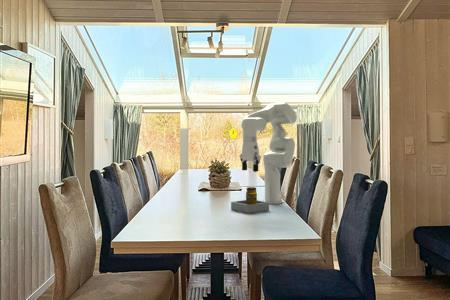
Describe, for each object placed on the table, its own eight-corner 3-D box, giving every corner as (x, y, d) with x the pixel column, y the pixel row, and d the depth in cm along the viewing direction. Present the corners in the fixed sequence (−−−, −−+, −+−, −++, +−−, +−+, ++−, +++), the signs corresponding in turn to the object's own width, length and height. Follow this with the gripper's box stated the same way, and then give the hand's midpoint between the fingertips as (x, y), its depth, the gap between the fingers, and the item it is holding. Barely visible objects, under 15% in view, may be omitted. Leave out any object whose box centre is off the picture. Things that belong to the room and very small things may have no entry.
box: (251, 206, 237) (251, 199, 236) (269, 210, 224) (269, 202, 224) (231, 209, 228) (231, 201, 228) (248, 213, 216) (247, 205, 215)
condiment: (260, 209, 226) (260, 187, 225) (247, 210, 221) (247, 188, 221) (252, 207, 232) (252, 186, 231) (240, 208, 227) (239, 187, 227)
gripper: (265, 140, 220) (265, 171, 221) (245, 139, 234) (245, 169, 235) (254, 140, 216) (255, 172, 216) (235, 140, 230) (235, 170, 230)
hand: (250, 170), depth 226 cm, fingers open, 9 cm apart
